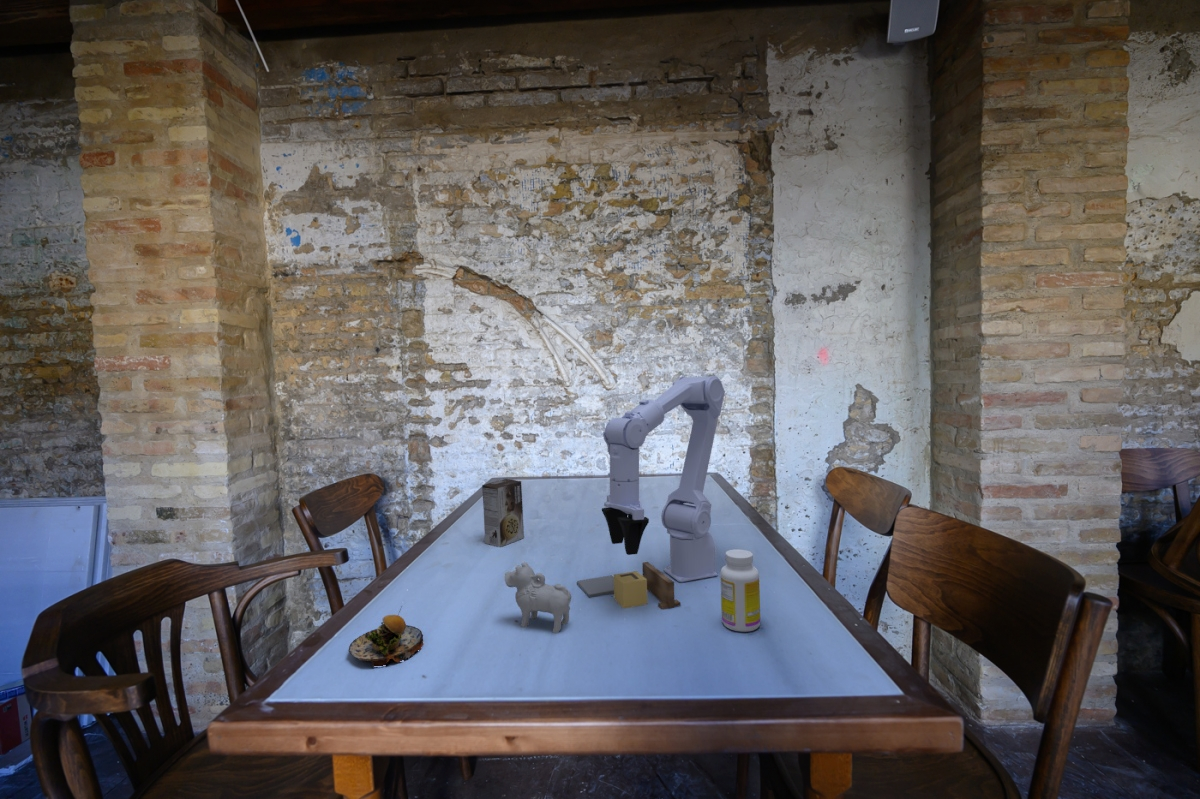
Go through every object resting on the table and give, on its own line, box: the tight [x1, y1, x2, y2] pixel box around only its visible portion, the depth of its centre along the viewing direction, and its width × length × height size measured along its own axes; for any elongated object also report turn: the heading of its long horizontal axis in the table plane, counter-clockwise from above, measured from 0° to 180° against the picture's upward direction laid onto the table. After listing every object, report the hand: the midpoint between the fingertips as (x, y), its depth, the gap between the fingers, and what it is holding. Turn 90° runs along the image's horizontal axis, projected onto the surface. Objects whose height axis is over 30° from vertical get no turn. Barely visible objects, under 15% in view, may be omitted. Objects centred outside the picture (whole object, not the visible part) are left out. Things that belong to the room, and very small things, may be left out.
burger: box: [347, 605, 424, 668], centre depth 94 cm, size 12×12×8 cm
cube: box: [613, 570, 648, 610], centre depth 110 cm, size 5×5×5 cm
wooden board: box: [642, 561, 682, 610], centre depth 112 cm, size 12×4×5 cm, turn 20°
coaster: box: [576, 574, 614, 599], centre depth 117 cm, size 8×8×1 cm
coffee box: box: [481, 478, 525, 548], centre depth 151 cm, size 9×6×16 cm
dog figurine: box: [504, 561, 572, 634], centre depth 102 cm, size 5×13×11 cm, turn 69°
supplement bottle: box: [720, 549, 761, 633], centre depth 98 cm, size 7×7×13 cm
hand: (624, 548), depth 109 cm, fingers open, 7 cm apart
